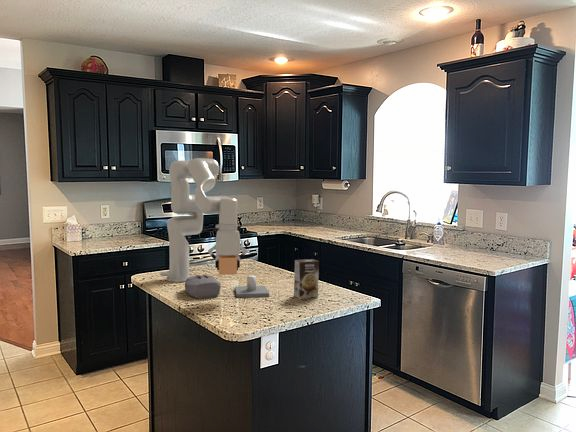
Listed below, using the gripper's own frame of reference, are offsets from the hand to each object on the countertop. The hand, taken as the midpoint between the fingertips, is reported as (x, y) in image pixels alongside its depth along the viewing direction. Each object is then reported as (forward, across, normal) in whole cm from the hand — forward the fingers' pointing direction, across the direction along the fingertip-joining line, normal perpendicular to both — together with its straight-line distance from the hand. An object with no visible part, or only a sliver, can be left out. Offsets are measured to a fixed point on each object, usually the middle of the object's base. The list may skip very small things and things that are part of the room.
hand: (227, 269), depth 199 cm
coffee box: (+13, +34, +1) cm, 37 cm away
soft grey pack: (+14, -11, +13) cm, 22 cm away
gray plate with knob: (+13, +11, +10) cm, 20 cm away
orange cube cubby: (+1, 0, 0) cm, 1 cm away
